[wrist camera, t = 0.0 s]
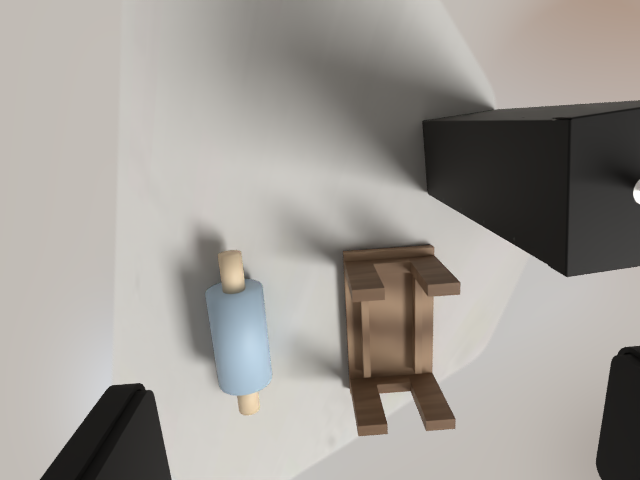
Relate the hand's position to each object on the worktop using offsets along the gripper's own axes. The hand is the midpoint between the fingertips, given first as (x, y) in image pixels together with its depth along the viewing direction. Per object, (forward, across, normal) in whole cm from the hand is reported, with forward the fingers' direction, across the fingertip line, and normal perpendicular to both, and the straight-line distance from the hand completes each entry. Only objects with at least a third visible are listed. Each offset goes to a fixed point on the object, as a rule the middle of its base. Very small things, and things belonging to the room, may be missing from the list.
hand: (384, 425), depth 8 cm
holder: (+37, -7, +17) cm, 41 cm away
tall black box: (+37, -15, -2) cm, 40 cm away
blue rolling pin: (+37, +10, +16) cm, 41 cm away
